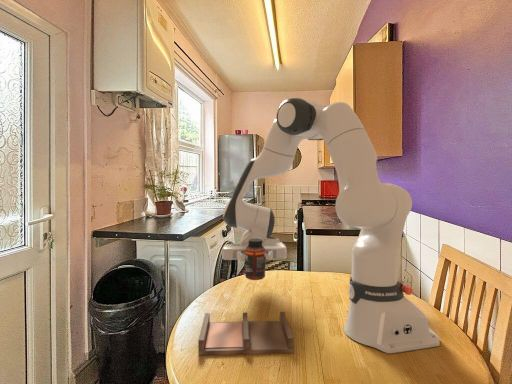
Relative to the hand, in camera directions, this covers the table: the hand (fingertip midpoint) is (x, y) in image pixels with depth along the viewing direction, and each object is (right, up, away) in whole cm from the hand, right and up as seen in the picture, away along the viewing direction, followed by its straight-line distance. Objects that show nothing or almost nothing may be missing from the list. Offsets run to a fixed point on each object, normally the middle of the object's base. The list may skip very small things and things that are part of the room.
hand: (255, 258), depth 90 cm
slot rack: (-2, -17, -13) cm, 22 cm away
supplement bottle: (0, -6, +1) cm, 6 cm away
